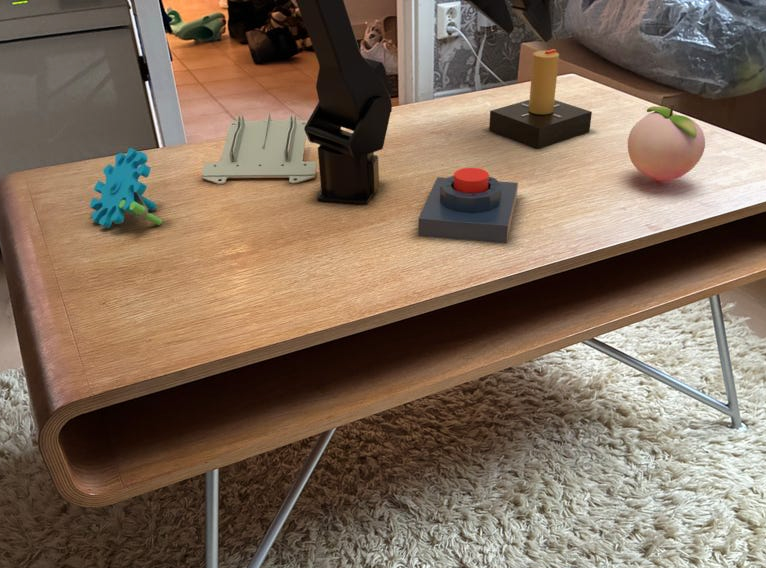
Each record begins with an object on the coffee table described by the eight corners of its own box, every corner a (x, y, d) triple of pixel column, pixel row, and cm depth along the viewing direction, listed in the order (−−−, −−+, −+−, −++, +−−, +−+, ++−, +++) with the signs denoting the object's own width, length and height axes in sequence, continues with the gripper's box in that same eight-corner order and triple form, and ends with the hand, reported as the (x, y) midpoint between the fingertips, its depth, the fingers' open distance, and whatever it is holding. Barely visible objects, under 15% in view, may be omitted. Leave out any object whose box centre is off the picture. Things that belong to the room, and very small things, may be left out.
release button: (485, 196, 86) (486, 182, 85) (450, 194, 87) (451, 179, 86) (490, 182, 89) (490, 168, 88) (456, 180, 90) (456, 166, 89)
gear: (77, 196, 93) (125, 131, 91) (119, 218, 97) (165, 156, 95) (100, 243, 86) (152, 173, 84) (144, 264, 90) (194, 198, 88)
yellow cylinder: (541, 116, 110) (546, 56, 105) (523, 110, 112) (528, 51, 107) (558, 111, 112) (564, 51, 107) (540, 105, 114) (545, 47, 109)
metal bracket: (214, 106, 107) (321, 105, 106) (223, 141, 111) (325, 140, 111) (196, 172, 98) (312, 170, 98) (206, 206, 103) (317, 205, 102)
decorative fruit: (606, 178, 99) (617, 100, 93) (652, 165, 102) (666, 89, 96) (660, 203, 92) (676, 122, 86) (707, 189, 96) (726, 109, 90)
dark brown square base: (537, 149, 108) (539, 127, 106) (488, 130, 114) (490, 109, 112) (589, 131, 113) (592, 110, 111) (540, 115, 120) (542, 94, 118)
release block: (506, 243, 85) (509, 210, 82) (418, 236, 86) (418, 203, 84) (516, 199, 94) (519, 168, 92) (436, 193, 96) (437, 162, 94)
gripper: (573, -121, 85) (618, 3, 95) (489, -116, 100) (535, -8, 110) (498, -58, 85) (551, 61, 95) (424, -62, 100) (477, 41, 109)
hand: (529, 35), depth 102 cm, fingers open, 9 cm apart
